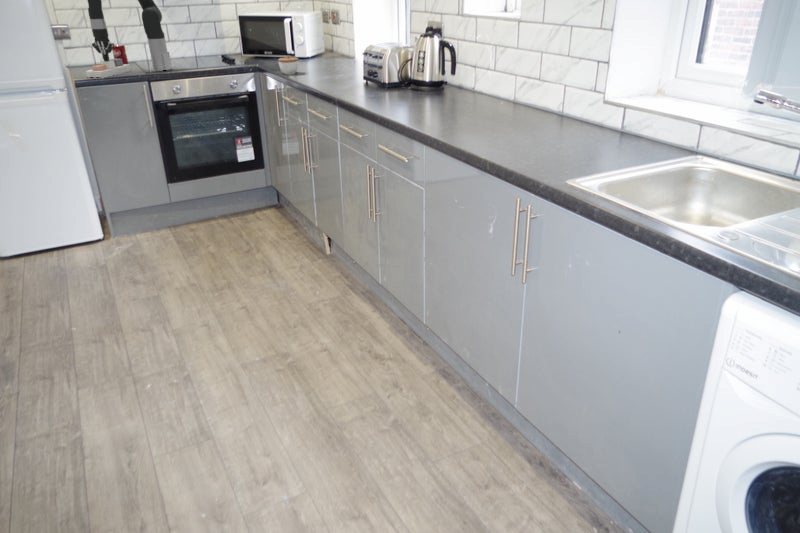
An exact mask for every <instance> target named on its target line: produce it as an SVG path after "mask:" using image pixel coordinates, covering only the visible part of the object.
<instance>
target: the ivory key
mask: <svg viewBox="0 0 800 533" xmlns="http://www.w3.org/2000/svg"><path fill="white" fill-rule="evenodd" d="M99 63H100V64H99V65H106V67H107V69H111V68H115V64H114V61H104V60H102V61H100V62H99Z"/></svg>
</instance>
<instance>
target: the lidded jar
mask: <svg viewBox="0 0 800 533" xmlns="http://www.w3.org/2000/svg"><path fill="white" fill-rule="evenodd" d="M277 61H278V66H279V70H280V71H281V72H282V73H283V75H286V76H287V75H296V73H297V72H298V69H299V58H298V57H292V56H291V57H290V55H287V56H286V57H280V58H278V60H277Z"/></svg>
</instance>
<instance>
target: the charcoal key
mask: <svg viewBox="0 0 800 533" xmlns="http://www.w3.org/2000/svg"><path fill="white" fill-rule="evenodd" d="M109 61H114V64H115V67H119V66H123V61H122V59H114V58H112V59H111V58H109Z"/></svg>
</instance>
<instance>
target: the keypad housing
mask: <svg viewBox="0 0 800 533" xmlns="http://www.w3.org/2000/svg"><path fill="white" fill-rule="evenodd" d="M128 72H132V68H131V64H129V63H128V64H123V66H119V67H115V68H111V69H107V70H103V71H93V69H90V70H89V69H88V70H86V71H85V74H86V78H87V77H107V78H109V77H108V76H110V77H114V76H117V74H118V75H121V74H125V73H128ZM113 75H114V76H113Z"/></svg>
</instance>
